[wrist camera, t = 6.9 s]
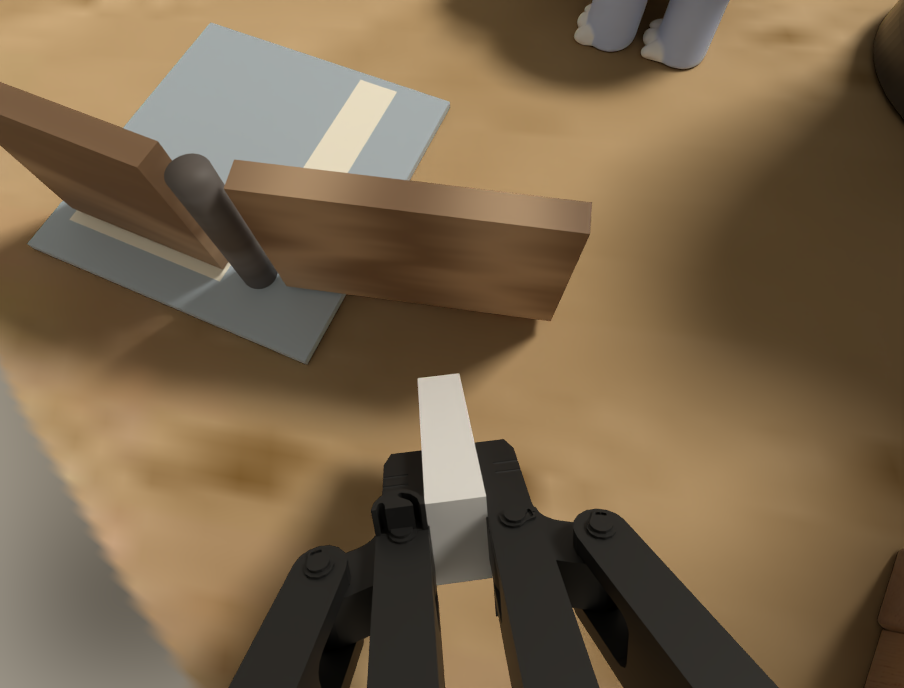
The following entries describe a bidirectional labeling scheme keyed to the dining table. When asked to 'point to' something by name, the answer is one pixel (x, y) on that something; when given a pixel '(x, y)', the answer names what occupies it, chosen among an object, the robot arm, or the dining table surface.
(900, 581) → the wooden toy
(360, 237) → the fence panel
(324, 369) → the dining table surface
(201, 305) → the card
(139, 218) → the fence fixed
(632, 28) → the hippopotamus toy
